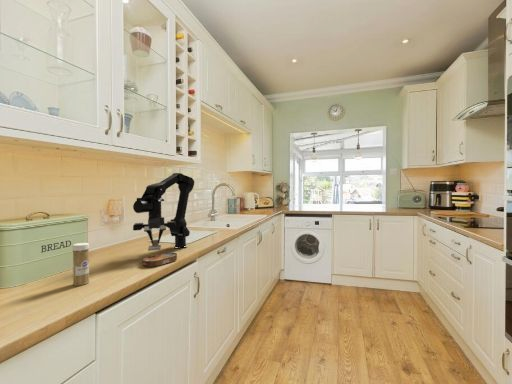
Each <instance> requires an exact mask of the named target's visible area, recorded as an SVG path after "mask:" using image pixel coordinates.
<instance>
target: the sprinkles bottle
mask: <svg viewBox="0 0 512 384" xmlns="http://www.w3.org/2000/svg"><path fill="white" fill-rule="evenodd" d="M89 249H90V244H89V243H88V242H80V243H79V242H78V243H74V244H72V275H73V277H72V279H73V282H72V285H73V286H75V287H79V286H84V285H87V284H88V283H90V280H89V279H90V275H89V274H90V263H89V261H90V260H89V259H90V258H89Z"/></svg>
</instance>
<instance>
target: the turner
mask: <svg viewBox="0 0 512 384" xmlns="http://www.w3.org/2000/svg"><path fill="white" fill-rule="evenodd" d="M151 244H152V245H148V248H147V251H148V252H149V251H151V252H152V251H160V250H161V248H162V244H160V242H159V243H158V239H153V243H151Z"/></svg>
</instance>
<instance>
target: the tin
mask: <svg viewBox="0 0 512 384" xmlns="http://www.w3.org/2000/svg"><path fill="white" fill-rule="evenodd" d="M175 260H176V261H177V260H178V253H176V252H163V253H158V254H155V255H150V256H146V257H144V258H142V265H143V266H144V267H147V268H154V267H155V266H156V267H159V265H160V266H164V265H167V264H170V263H169V262H171V263H173V261H174V262H176V261H175ZM166 263H167V264H166ZM163 264H164V265H163Z"/></svg>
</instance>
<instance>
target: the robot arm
mask: <svg viewBox="0 0 512 384" xmlns="http://www.w3.org/2000/svg"><path fill="white" fill-rule="evenodd" d="M175 184H176V185H178V186H177V187H178V190H179V197H178V200H177V207H176V210H175V211H176V212H175V217H174V218H173V219H172V218H171V219H170V220H168V221H166V222H165V217H163V216H162V202H164V201H165V199H164V198H163V197H162V196H163V195H164V194H166V191H167V190H168V189H169V188H170V187H172V186H173V185H175ZM194 186H195V180H194V179H193V177H191V176H188V175H185V174H183V173H181V172H174V173H172V174H171V175H169V176H168V177H165V178H164V179H162V180H161V181H160V182H156V183H151V184H149V185H147V186H146V187H145V190H144V192H143V194H142V196H141V197H136V200H135V202H134V203H133V205H132V208H133V211H134V212H135V213H136V214H143V213H148V219H147V223H144V222H136V223H134V224H133V225H132V231H141V230H142V229H143V232H144V233H145V232H146V233H147V235H148V236H149V240H150V242H151V244H152V243H153V240H154V239H153V229H158V238H157V240H158V243H159V244H160V241H161V238H162V236H163V233H164V231H167V228H168V229H169V231H170V235H171V237H174V245H175V247H184V246H186V245H187V239H186V238H188V237H189V236H190V235H191V234H190V233H191V232H190V230H189V229H188V227H187V221H186V219H185V218H186V212H187V208H188V207H187V206H188V203H189V195H190V193H191V192H192V191H193V189H194Z"/></svg>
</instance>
